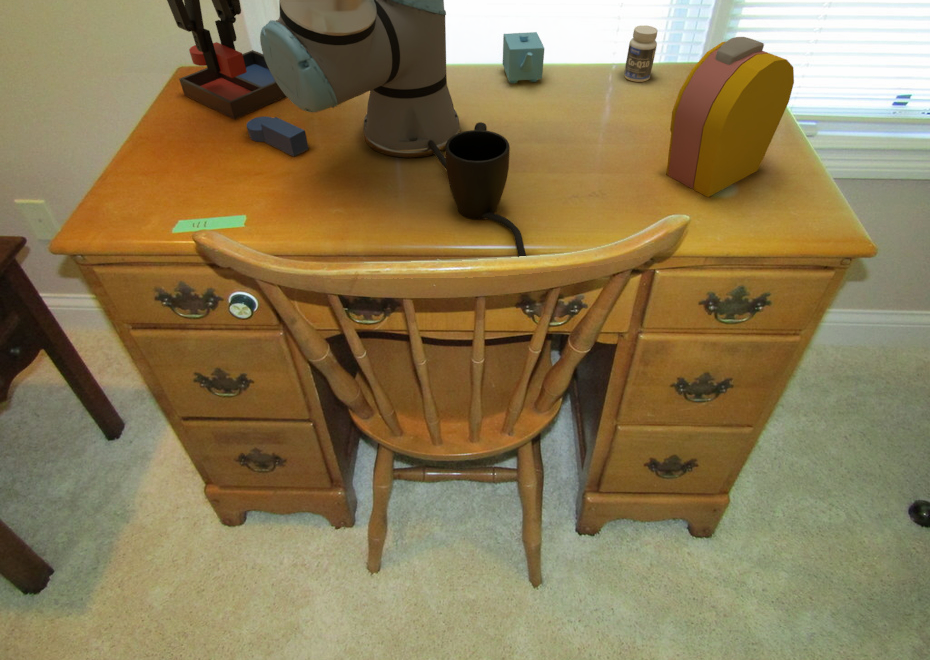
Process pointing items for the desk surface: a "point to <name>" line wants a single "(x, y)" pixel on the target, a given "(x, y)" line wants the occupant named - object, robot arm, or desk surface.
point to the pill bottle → (641, 54)
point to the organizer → (234, 88)
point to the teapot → (523, 56)
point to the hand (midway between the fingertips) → (223, 65)
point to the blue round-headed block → (278, 134)
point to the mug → (477, 170)
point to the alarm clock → (727, 115)
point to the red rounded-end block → (222, 59)
